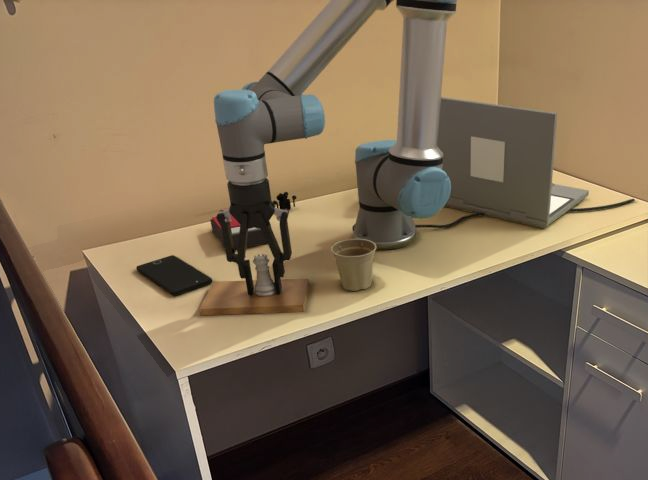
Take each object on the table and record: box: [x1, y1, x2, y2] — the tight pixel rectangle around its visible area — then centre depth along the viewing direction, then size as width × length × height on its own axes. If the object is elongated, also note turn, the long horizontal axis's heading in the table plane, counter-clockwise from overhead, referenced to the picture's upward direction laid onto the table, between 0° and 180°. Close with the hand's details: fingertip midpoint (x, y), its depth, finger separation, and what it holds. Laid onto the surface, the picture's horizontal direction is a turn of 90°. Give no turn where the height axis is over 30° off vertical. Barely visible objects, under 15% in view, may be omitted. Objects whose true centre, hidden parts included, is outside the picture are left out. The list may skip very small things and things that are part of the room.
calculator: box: [209, 215, 268, 250], centre depth 167 cm, size 11×4×15 cm
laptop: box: [437, 96, 590, 229], centre depth 180 cm, size 35×26×28 cm
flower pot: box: [330, 238, 377, 292], centre depth 143 cm, size 9×9×9 cm
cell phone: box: [135, 254, 213, 296], centre depth 148 cm, size 9×18×1 cm, turn 46°
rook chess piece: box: [252, 253, 276, 297], centre depth 137 cm, size 4×4×8 cm
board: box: [199, 277, 311, 316], centre depth 139 cm, size 20×12×2 cm, turn 94°
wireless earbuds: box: [272, 191, 297, 211], centre depth 181 cm, size 7×2×5 cm, turn 131°
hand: (265, 291), depth 139 cm, fingers open, 5 cm apart
